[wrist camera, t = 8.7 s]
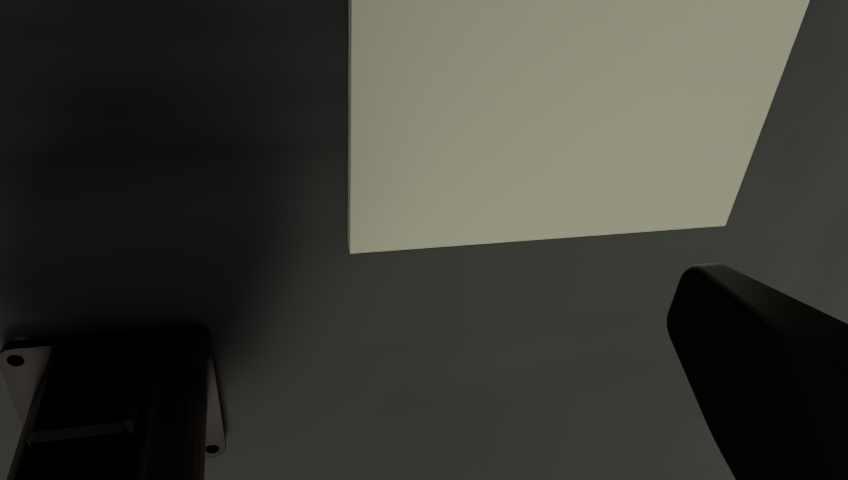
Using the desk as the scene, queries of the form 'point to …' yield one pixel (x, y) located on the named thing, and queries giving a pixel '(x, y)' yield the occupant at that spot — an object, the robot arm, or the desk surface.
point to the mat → (554, 115)
